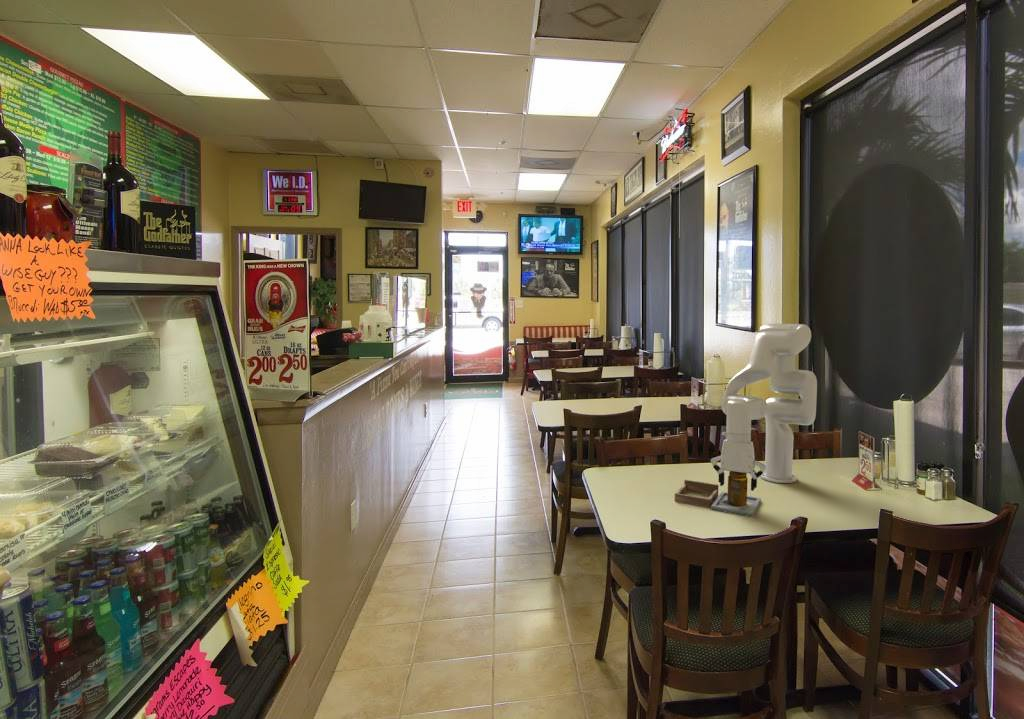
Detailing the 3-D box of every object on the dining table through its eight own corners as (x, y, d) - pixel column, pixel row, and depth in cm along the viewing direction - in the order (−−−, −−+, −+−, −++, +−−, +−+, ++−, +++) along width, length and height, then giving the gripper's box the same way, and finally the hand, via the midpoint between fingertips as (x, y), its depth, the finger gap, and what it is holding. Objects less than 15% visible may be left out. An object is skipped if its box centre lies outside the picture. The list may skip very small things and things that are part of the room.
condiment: (752, 504, 182) (753, 469, 181) (737, 509, 177) (738, 474, 176) (732, 498, 188) (733, 464, 187) (717, 503, 183) (718, 468, 182)
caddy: (684, 490, 198) (685, 479, 197) (718, 495, 192) (718, 484, 191) (674, 500, 187) (674, 489, 187) (709, 507, 181) (709, 495, 181)
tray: (722, 494, 192) (722, 491, 192) (760, 501, 186) (760, 498, 186) (711, 509, 179) (711, 505, 179) (752, 516, 172) (752, 513, 172)
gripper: (708, 436, 182) (707, 486, 184) (765, 442, 172) (763, 495, 174) (713, 431, 188) (713, 479, 190) (768, 437, 179) (767, 488, 180)
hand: (737, 487), depth 182 cm, fingers open, 9 cm apart
